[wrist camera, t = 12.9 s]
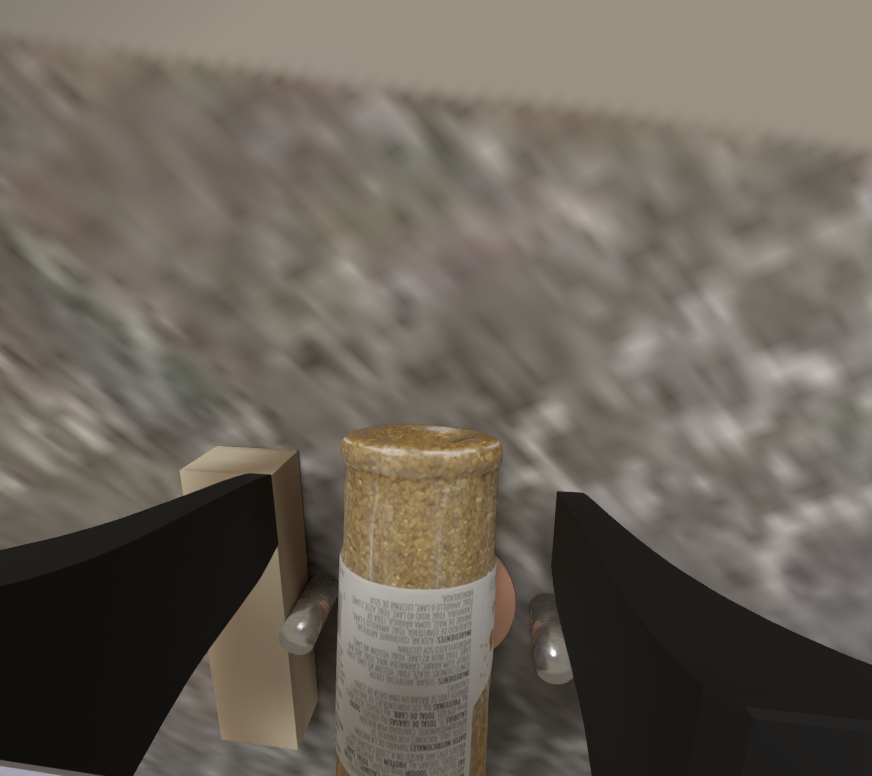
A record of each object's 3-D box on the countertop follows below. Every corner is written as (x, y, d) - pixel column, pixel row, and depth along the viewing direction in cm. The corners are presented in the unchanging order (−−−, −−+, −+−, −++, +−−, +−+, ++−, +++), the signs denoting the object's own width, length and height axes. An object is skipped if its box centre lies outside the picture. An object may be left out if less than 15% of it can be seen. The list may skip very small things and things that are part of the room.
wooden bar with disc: (523, 463, 15) (527, 492, 13) (508, 724, 18) (509, 780, 16) (217, 446, 16) (179, 470, 14) (249, 691, 19) (221, 739, 17)
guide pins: (565, 595, 16) (578, 654, 13) (554, 713, 17) (564, 785, 15) (307, 572, 17) (277, 622, 14) (317, 684, 18) (290, 747, 16)
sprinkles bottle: (476, 423, 15) (462, 806, 16) (337, 421, 14) (327, 830, 15) (533, 446, 11) (510, 980, 11) (337, 447, 10) (322, 1031, 10)
